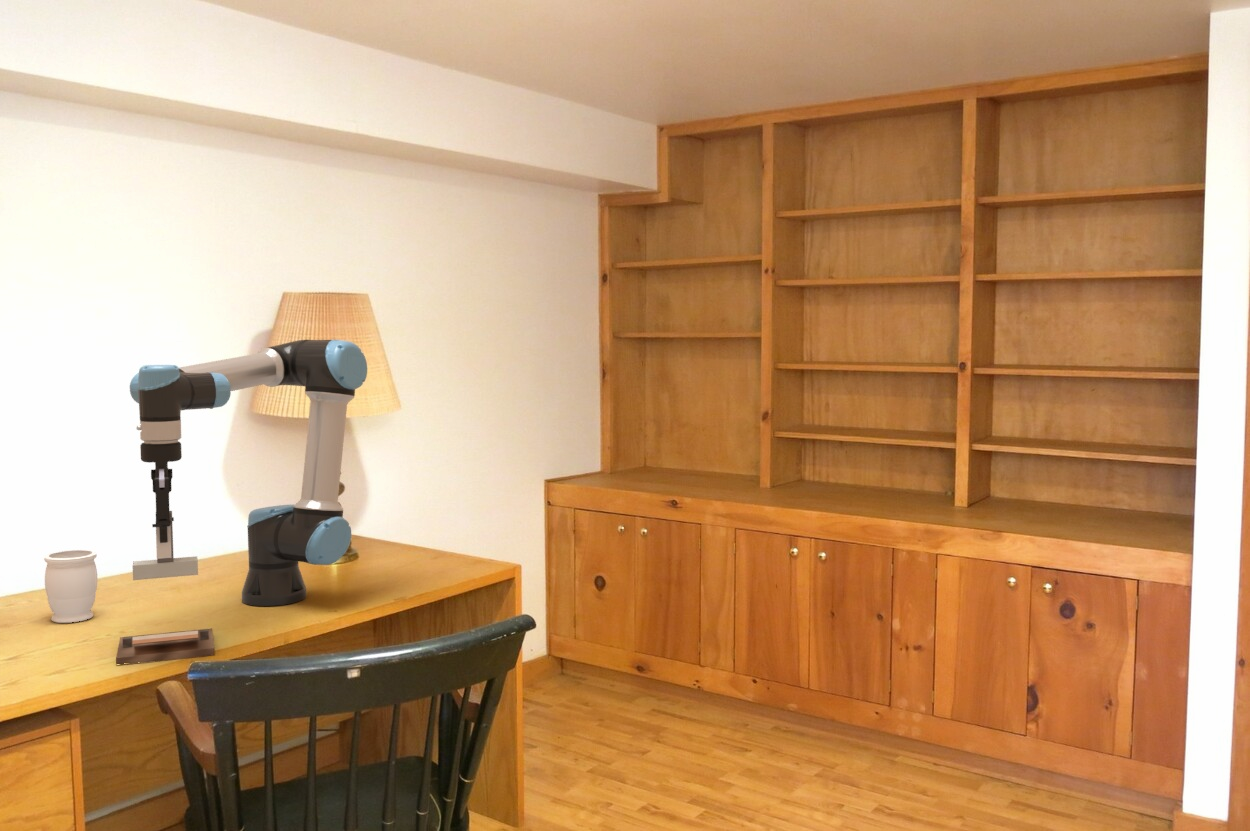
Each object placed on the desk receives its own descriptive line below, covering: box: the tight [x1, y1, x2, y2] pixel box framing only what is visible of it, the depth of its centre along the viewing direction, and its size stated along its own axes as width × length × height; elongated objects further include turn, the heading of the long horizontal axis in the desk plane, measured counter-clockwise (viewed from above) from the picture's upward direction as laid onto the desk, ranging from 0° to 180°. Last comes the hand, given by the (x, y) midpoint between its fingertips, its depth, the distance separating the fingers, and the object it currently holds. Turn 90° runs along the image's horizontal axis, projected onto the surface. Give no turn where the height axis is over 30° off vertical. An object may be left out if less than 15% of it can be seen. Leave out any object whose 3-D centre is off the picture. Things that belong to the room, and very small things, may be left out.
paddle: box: [132, 510, 199, 581], centre depth 207 cm, size 12×4×13 cm, turn 114°
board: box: [115, 628, 215, 665], centre depth 211 cm, size 18×15×3 cm
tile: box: [133, 630, 198, 645], centre depth 207 cm, size 12×7×1 cm, turn 114°
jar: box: [43, 549, 98, 624], centre depth 232 cm, size 11×10×15 cm
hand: (164, 555), depth 207 cm, fingers closed on paddle, 3 cm apart
